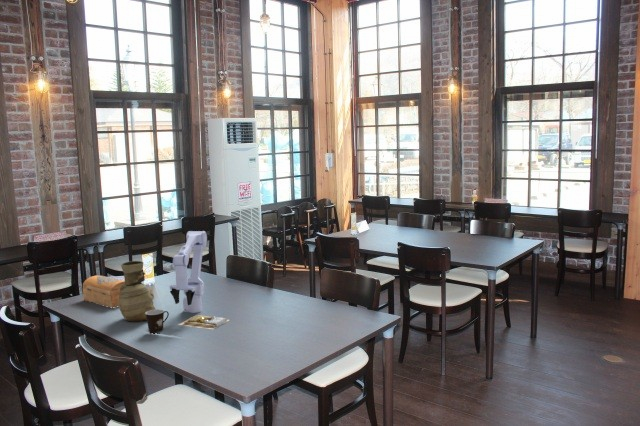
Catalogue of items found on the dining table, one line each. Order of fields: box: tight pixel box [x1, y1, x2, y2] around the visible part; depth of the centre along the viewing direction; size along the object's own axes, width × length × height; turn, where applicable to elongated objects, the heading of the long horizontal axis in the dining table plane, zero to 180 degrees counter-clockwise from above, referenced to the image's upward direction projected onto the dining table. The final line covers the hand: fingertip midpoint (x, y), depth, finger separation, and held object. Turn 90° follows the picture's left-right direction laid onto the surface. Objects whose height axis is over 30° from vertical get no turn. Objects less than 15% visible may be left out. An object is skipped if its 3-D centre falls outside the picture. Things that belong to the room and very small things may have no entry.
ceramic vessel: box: [118, 260, 156, 323], centre depth 303 cm, size 19×21×30 cm
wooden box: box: [82, 274, 125, 309], centre depth 337 cm, size 30×16×14 cm, turn 51°
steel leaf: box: [204, 316, 226, 328], centre depth 288 cm, size 7×8×2 cm
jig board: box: [177, 315, 230, 330], centre depth 291 cm, size 21×15×2 cm
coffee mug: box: [145, 308, 170, 335], centre depth 282 cm, size 12×9×10 cm
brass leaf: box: [186, 314, 206, 323], centre depth 292 cm, size 7×8×2 cm
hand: (183, 304), depth 294 cm, fingers open, 7 cm apart
